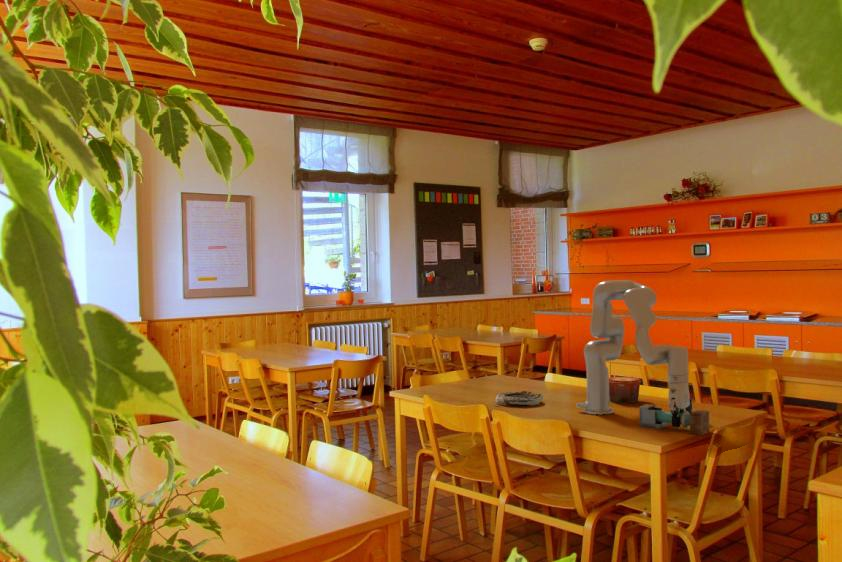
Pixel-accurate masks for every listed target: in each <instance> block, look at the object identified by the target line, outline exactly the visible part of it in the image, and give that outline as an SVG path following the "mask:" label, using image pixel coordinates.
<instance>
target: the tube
mask: <svg viewBox="0 0 842 562" xmlns="http://www.w3.org/2000/svg"><path fill="white" fill-rule="evenodd" d="M679 417H680V425H681V426H682V428H684V429H687V428H688V427H690V414H689V412H688V411H684V412H683V413H680V415H679ZM656 421H657V422H665V423H667V424H672V416H671V411H667V410H662V411H660V410H656Z"/></svg>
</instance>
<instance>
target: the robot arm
mask: <svg viewBox="0 0 842 562" xmlns="http://www.w3.org/2000/svg"><path fill="white" fill-rule="evenodd" d="M657 299H658V298H657V294H656V292H655V290H653V289H652V288H651V287H649V286H646V285H643V284H641V283H638V282H636V281H633V280H629V279H623V280H620V279H619V280H617V279H616V280H613V279H612V280H604V281H602V282H599V283H597V284H596V285H595V287H594V288H593V292H592V310H591V316H590V317H591V318H590V326H589V331H590V335H591V336H592V337H593V338H596V339H597V340H591V341H588V342H587V343H586V344H585V346H584V348H583V354H584V355H583V356H584V357H583V358H584V360H585V361H584V362H585V369H586V372H585V373H586V400H585V401H584V402H576V404H575V405H576V406H575V407H576V408H581V409H583V413H585V414H590V415H596V414H598V415H602V416H603V414H605V415H610V414H613V413H614V409H613V408H611V407H610V398H609V378H610V377H609V375H610V372H609V369H608V367H607V363H606V362H609V361H611V362H612V361H615V360H618V359H619V357H620V356H621V354H622V351H623V344H624V337H625V324H624V321H623V319H622V318H621V317H620V316H618V315H613V303H612V301H623V302H624V303H625V306H626V308H627V311H628V312H629V314H630V316H631V318H632V320H633V322H634V324H635V327H636V330H635V337H634V338H635V345H636V348H637V351H638V353H639V354H640V356H641V359H642V360H643V361H644V362H645V363H646V364H648V365H650V366H657V365H663V364H667V383H669V384H668V408H669V412H671V416H672V423H671V427H675V428H681V426H682V425H681V424H680V417H679V415H680V413H683V412H684V411H686V407H688V406H689V405H690V398H691V397H690V396H689V392H690V390H689V389H690V386H689V351H688V348H687V347H685V346H674V345H671V344H657V345H655V344H653V342H652V340H651V338H650V333H649V332H650V328H651V327H652V326H653V325H655V324H656V322H657V317H656V314H655V313H654V311H653V309H652V307H654V306H655V305H656V303H657ZM689 397H690V398H689ZM675 407H677V408H675ZM675 410H677V411H675Z"/></svg>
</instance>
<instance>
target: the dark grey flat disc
mask: <svg viewBox="0 0 842 562" xmlns="http://www.w3.org/2000/svg"><path fill="white" fill-rule="evenodd" d="M543 399H544V395H542V394H541V393H538V392H533V391H529V390H521V391H515V392H514V391H505V392H502V393H500V394H497V395H496V397H495V399H494V401H495V402H493V405H494V406H498V405H499V406H500V405H501V406H506V407H507V406H511V407H514V406H515V407H533V406H539V405H540V403H541V402H542V400H543Z"/></svg>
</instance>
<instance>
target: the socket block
mask: <svg viewBox="0 0 842 562" xmlns="http://www.w3.org/2000/svg"><path fill="white" fill-rule="evenodd" d="M689 427H690V428H689V431H690V432H689V434H690V435H695V436H704V435H705V434H708V433H710V411H709V410H704V409H703V410H702V409H696V410H693V412H692V413H690V426H689Z"/></svg>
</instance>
